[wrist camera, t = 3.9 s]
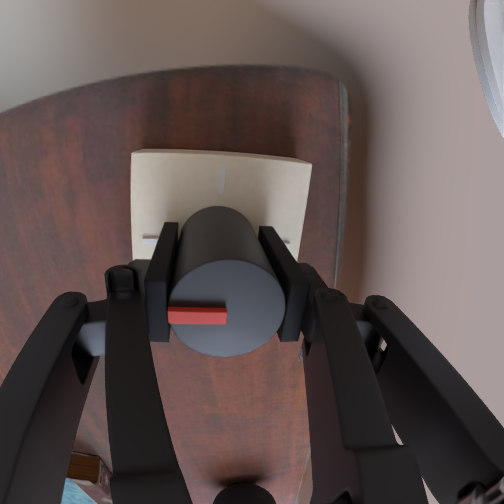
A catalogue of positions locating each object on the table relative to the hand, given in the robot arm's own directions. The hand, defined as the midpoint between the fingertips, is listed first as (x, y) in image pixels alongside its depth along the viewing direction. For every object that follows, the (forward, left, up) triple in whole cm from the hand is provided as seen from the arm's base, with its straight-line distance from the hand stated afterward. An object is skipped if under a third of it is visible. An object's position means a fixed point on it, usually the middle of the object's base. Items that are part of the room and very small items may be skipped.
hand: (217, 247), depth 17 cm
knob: (0, 0, -1) cm, 1 cm away
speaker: (-5, +43, -4) cm, 43 cm away
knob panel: (0, 0, -4) cm, 4 cm away
